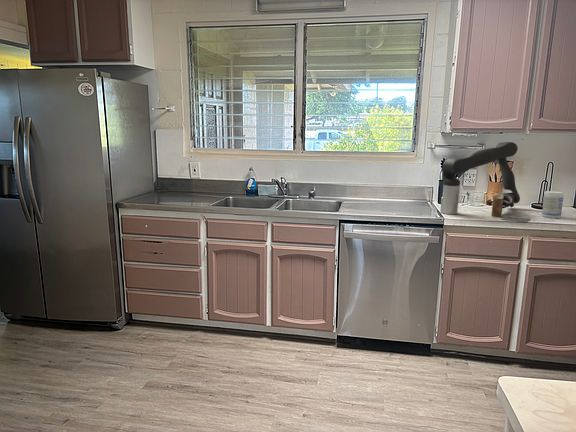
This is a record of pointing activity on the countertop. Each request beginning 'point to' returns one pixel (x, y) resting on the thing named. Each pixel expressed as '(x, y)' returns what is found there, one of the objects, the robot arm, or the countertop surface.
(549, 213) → the supplement tub
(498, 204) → the walnut post
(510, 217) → the rubber mat
